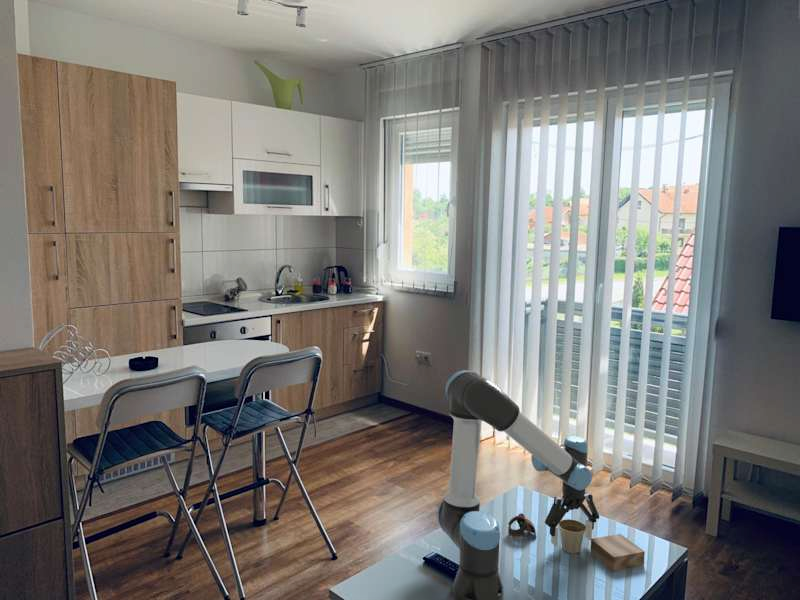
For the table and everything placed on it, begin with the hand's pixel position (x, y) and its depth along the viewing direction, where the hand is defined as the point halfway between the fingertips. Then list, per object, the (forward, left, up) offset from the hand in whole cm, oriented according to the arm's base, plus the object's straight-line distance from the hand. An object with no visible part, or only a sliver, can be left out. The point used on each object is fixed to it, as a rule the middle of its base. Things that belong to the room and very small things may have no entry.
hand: (571, 541), depth 205 cm
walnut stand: (+11, -10, -3) cm, 15 cm away
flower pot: (0, 0, -3) cm, 3 cm away
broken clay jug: (-11, +13, -3) cm, 18 cm away
